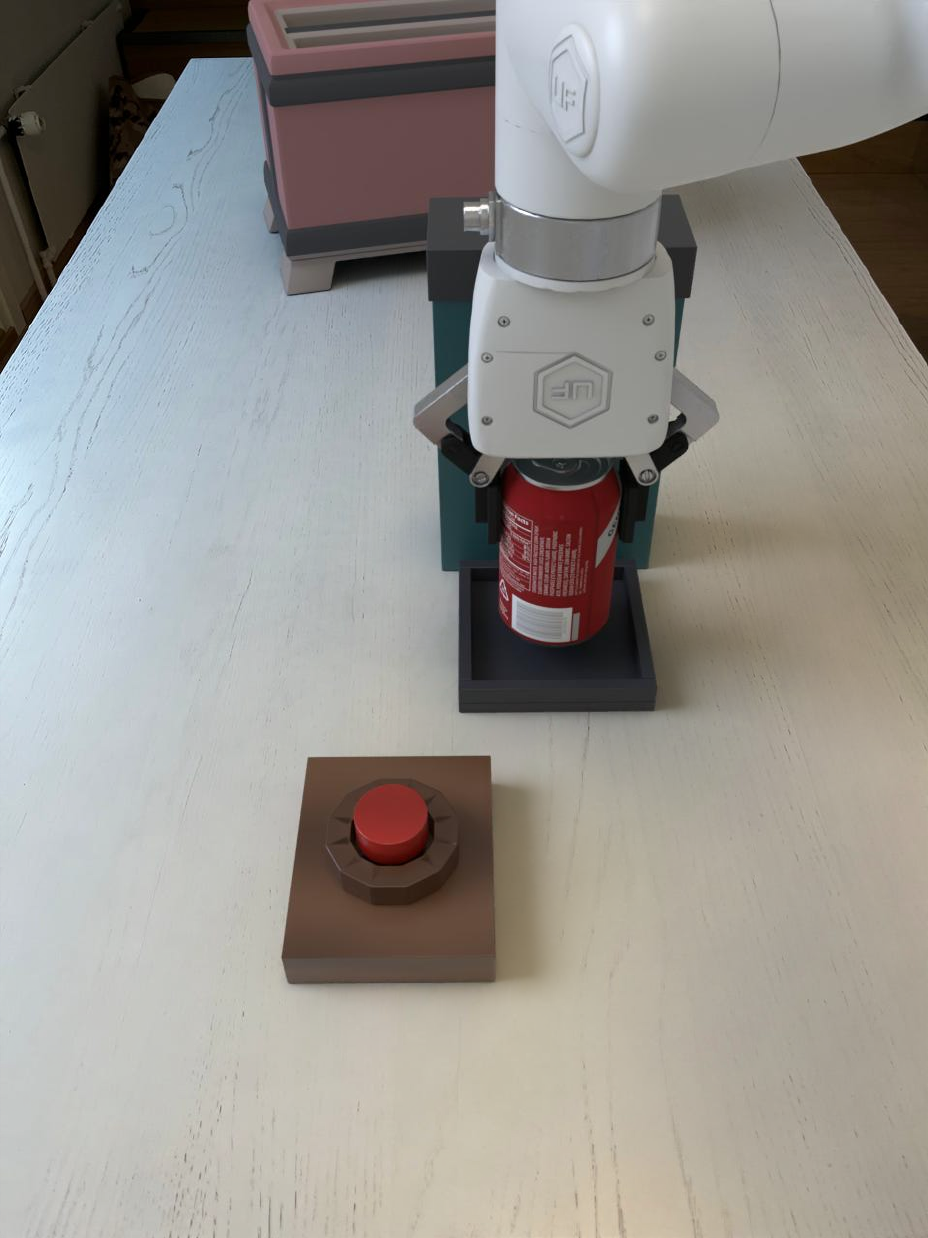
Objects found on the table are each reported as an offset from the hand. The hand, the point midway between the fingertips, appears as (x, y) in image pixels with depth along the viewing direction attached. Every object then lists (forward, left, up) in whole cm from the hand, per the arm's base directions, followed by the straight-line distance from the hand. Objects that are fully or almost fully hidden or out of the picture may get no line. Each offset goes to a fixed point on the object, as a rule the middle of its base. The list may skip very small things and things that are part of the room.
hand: (558, 526), depth 62 cm
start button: (-17, +9, -6) cm, 20 cm away
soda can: (0, 0, -7) cm, 7 cm away
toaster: (+60, +8, -10) cm, 61 cm away
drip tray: (0, 0, -9) cm, 9 cm away
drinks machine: (+10, 0, -9) cm, 14 cm away
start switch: (-17, +9, -10) cm, 21 cm away
